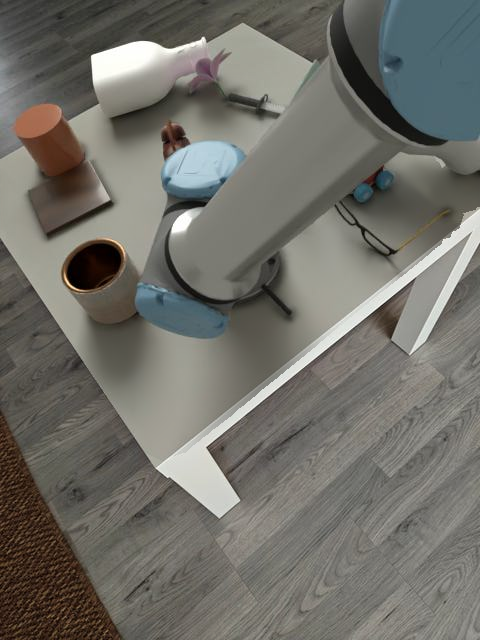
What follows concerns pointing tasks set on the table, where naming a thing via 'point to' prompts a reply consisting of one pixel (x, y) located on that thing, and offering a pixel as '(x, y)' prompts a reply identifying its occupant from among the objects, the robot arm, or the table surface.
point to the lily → (207, 71)
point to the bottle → (141, 73)
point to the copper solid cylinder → (49, 139)
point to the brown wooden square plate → (69, 198)
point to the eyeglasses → (363, 229)
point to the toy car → (379, 177)
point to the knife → (255, 103)
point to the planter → (102, 280)
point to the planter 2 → (308, 76)
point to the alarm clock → (173, 139)
